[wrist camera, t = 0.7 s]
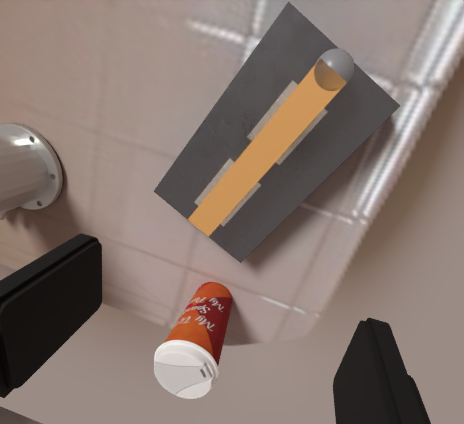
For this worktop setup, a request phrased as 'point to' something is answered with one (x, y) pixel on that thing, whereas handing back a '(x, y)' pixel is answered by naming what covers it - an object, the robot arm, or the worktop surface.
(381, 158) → the worktop surface
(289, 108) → the light orange bar
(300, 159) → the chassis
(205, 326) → the paper cup
